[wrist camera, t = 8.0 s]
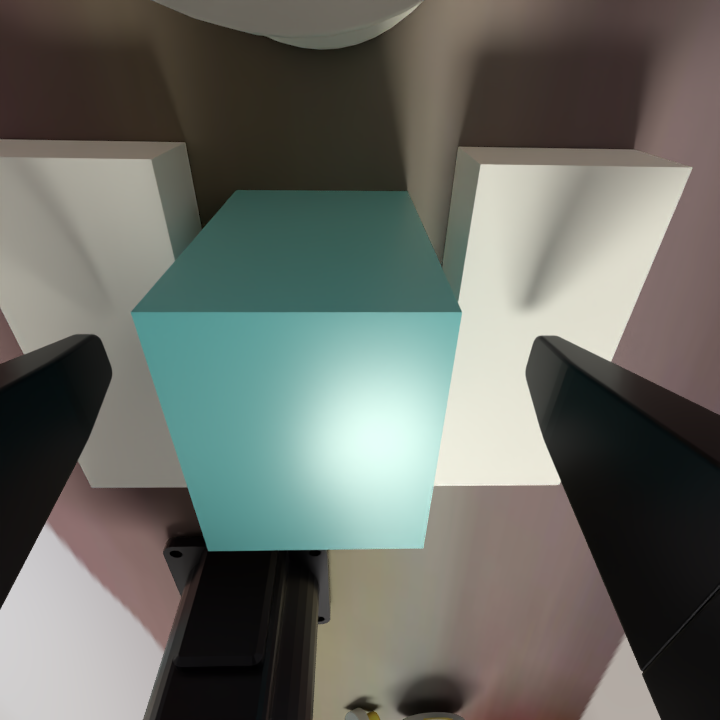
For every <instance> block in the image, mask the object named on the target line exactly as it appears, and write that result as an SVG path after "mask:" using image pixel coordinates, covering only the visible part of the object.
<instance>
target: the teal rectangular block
mask: <svg viewBox="0 0 720 720" xmlns="http://www.w3.org/2000/svg"><path fill="white" fill-rule="evenodd" d="M131 315H132V318H133V321H134V324H135V327H136V330H137V333H138V337H139V340H140V343H141V346H142V349H143V352H144V355H145V358H146V361H147V364H148V367H149V370H150V373H151V377H152V380H153V383H154V386H155V389H156V392H157V395H158V398H159V401H160V404H161V407H162V410H163V413H164V417H165V420H166V423H167V426H168V429H169V432H170V435H171V438H172V441H173V444H174V447H175V450H176V453H177V456H178V460H179V463H180V466H181V469H182V472H183V475H184V478H185V481H186V484H187V487H188V490H189V493H190V496H191V500H192V503H193V506H194V509H195V512H196V515H197V518H198V521H199V524H200V527H201V530H202V533H203V536H204V540H205V543H206V546H207V549H208V551H261V550H336V549H411V548H423V547H424V541H425V535H426V529H427V523H428V517H429V511H430V505H431V499H432V493H433V486H434V480H435V474H436V468H437V462H438V456H439V450H440V444H441V438H442V432H443V426H444V420H445V414H446V408H447V401H448V395H449V389H450V383H451V377H452V371H453V365H454V359H455V353H456V347H457V341H458V335H459V329H460V322H461V316H462V311H461V309H460V306H459V304H458V302H457V300H456V298H455V295H454V293H453V291H452V289H451V286H450V284H449V282H448V280H447V278H446V275H445V273H444V271H443V269H442V267H441V264H440V262H439V260H438V258H437V255H436V253H435V251H434V249H433V247H432V244H431V242H430V240H429V238H428V236H427V233H426V231H425V229H424V227H423V225H422V222H421V220H420V218H419V216H418V213H417V211H416V209H415V207H414V205H413V202H412V200H411V198H410V196H409V194H408V191H307V190H236V191H235V192H234V193H233V194H232V196H231V197H230V198H229V199H228V200H227V201H226V203H225V204H224V205H223V206H222V207H221V208H220V210H219V211H218V212H217V213H216V214H215V215H214V216H213V218H212V219H211V220H210V221H209V222H208V223H207V225H206V226H205V227H204V228H203V229H202V230H201V231H200V233H199V234H198V235H197V236H196V237H195V238H194V240H193V241H192V242H191V243H190V244H189V245H188V246H187V248H186V249H185V250H184V251H183V252H182V253H181V255H180V256H179V257H178V258H177V259H176V260H175V261H174V263H173V264H172V265H171V266H170V267H169V268H168V270H167V271H166V272H165V273H164V274H163V275H162V276H161V278H160V279H159V280H158V281H157V282H156V283H155V285H154V286H153V287H152V288H151V289H150V290H149V292H148V293H147V294H146V295H145V296H144V297H143V298H142V300H141V301H140V302H139V303H138V304H137V305H136V307H135V308H134V309H133V310H132V311H131Z"/></svg>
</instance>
